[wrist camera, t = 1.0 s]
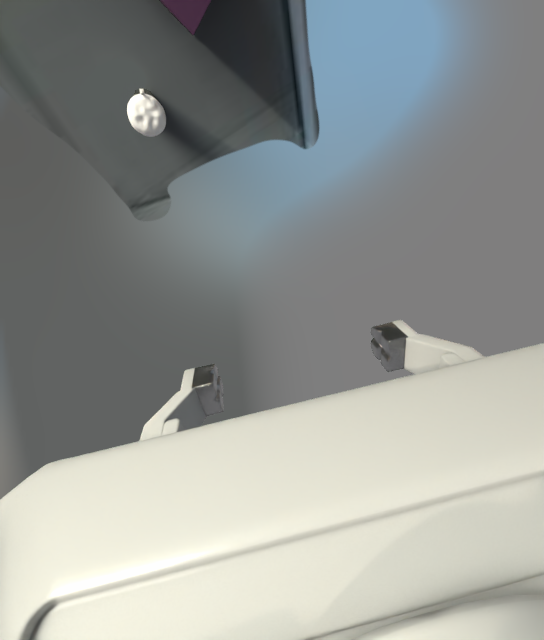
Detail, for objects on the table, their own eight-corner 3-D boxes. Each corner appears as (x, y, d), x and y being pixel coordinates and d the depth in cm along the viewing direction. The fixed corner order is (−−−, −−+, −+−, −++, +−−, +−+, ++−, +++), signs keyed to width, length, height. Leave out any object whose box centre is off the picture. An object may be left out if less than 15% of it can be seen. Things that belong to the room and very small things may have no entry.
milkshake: (157, 75, 40) (161, 89, 34) (164, 120, 44) (170, 140, 38) (121, 73, 39) (119, 87, 32) (132, 120, 43) (132, 141, 36)
